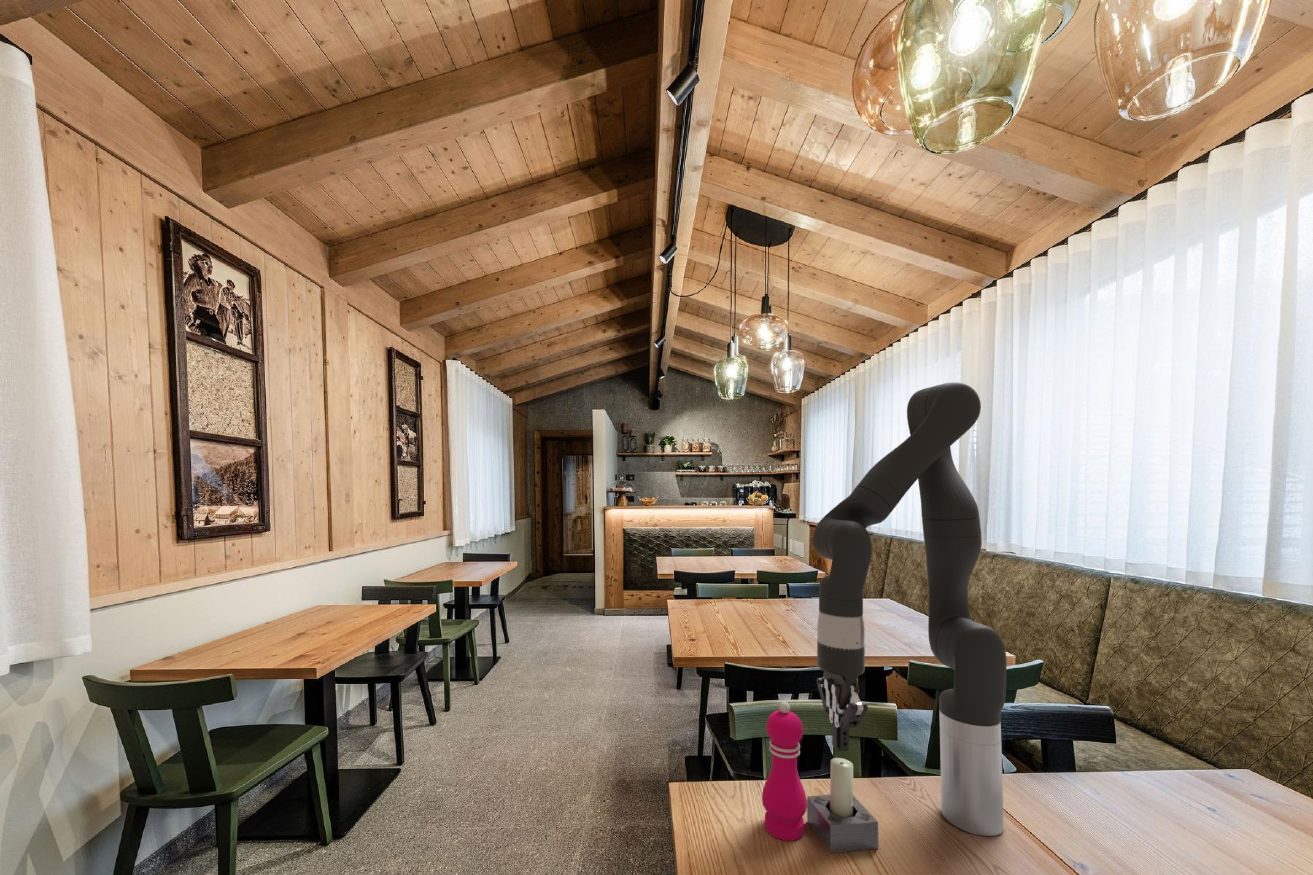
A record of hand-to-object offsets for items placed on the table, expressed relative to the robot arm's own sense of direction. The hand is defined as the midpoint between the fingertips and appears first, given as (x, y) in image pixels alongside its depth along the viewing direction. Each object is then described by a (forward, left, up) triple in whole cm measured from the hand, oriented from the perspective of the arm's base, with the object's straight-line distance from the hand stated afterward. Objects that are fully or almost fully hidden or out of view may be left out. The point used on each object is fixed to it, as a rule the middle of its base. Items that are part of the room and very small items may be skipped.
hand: (840, 748), depth 89 cm
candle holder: (0, 0, -13) cm, 13 cm away
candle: (0, 0, -12) cm, 12 cm away
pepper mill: (+5, -7, -14) cm, 16 cm away
